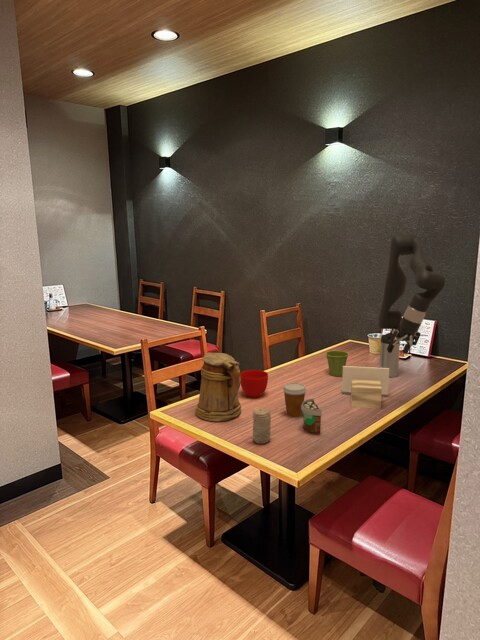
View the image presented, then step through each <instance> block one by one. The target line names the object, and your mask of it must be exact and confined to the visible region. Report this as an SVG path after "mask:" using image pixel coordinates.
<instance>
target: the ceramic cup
mask: <svg viewBox="0 0 480 640" xmlns="http://www.w3.org/2000/svg"><path fill="white" fill-rule="evenodd" d="M240 375H241V382H240V387H241V389H242V391H243V393H244V394H245V395H246V396H247V397H249V398H253V399H255V398H258V397H259V398H260V397H261V396H262V395H263V394H264V393H265V391H266V389H267V387H268V382H269V381H268V380H269V373H268V372H267V371H265V370H261V369H260V370H259V369H247V370H243V371H242V372H241V371H240Z"/></svg>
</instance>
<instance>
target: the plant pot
mask: <svg viewBox="0 0 480 640" xmlns="http://www.w3.org/2000/svg"><path fill="white" fill-rule="evenodd" d="M325 355H326V359H327V364H328V365H327V366H328V370H329V375H330V376H331V377H332V376H333V377H339V376H340V377H343V366H347V360H348V356H349V355H350V353H349V352H347V351H344V350H329V351H326V352H325Z"/></svg>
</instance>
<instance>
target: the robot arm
mask: <svg viewBox="0 0 480 640" xmlns="http://www.w3.org/2000/svg"><path fill="white" fill-rule="evenodd" d="M389 249H390V250H389V258H388V259H389V261H388V267H387V273H386V278H385V284H384V291H383V297H382V303H381V307H380V310H379V314H378V321H377V322H378V327H379V328H380V329H381V330H390V332H388V333H386V334H382V335H381V336H380V346H379V347H380V348H379V349H380V351H379V366H378V368H389V378H395V377H398V376H399V366H400V365H399V364H400V363H399V362H400V346H401V345H400V343H401V342H405V344H404V347H403V349H402V352H403V353H404V354H405V355H407V354H408V353H409V351H410V350H411V347H413V346H416V345H417V344H418V341H419V340H420V337H421V335H422V334H421V332H419V329H420V328H421V326H422V323H423V321H424V319H425V317H426V313H427V311H428V309H429V307H430V306H431V303H432V302H433V301H434V300H435V299H436V298H437V296H438V295H440V293H441V292H442V290H444V287H445V285H446V278H445V276H444V275H443V274H441V273H438V272H437V273H436V272H434V269H433V266H432V264H431V263H430V261H428V259H427V258H426V256H425V253H424V250H423V248H422V244H421V242H420V240H419V238H418V236H417V235H416V234H414V233H400V234H394V235H392V237H391V241H390V247H389ZM409 255H410V256H411V255H412V256H411V259H410V261H409V266H410V269H411V270H412V272H413V274H414V277H415V278H414V279H415V284H416V286H417V287H418V288H420V289H422V290H425V291H424V292H415V293H414V294H413V296H412V298H411V300H410V303H409V304H408V306H407V308H406V309H405V311H404V314H403V313H402V312H401V311H400V310H390V309H391V308H392V306H393V305H395V303H396V302H397V301H398V300H399V299H400V298H401V297H402V296H403V294H404V293H405V291H406V287H407V286H406V285H407V276H406V274H405V272H404V270H403V268H402V267H401V265H400V263H399V257H400V256H409ZM402 314H403V315H402Z"/></svg>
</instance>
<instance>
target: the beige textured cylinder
mask: <svg viewBox="0 0 480 640" xmlns="http://www.w3.org/2000/svg"><path fill="white" fill-rule="evenodd" d="M271 416H272V414H271V411H270V409H269V408H267V407H257V408H255V409H254V410H253V411H252V420H253V421H252V437H253V441H254V443H256V444H260V445H261V444H266V443H268V442H269V441H270V440H271V436H272V435H271V422H272V417H271Z"/></svg>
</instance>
